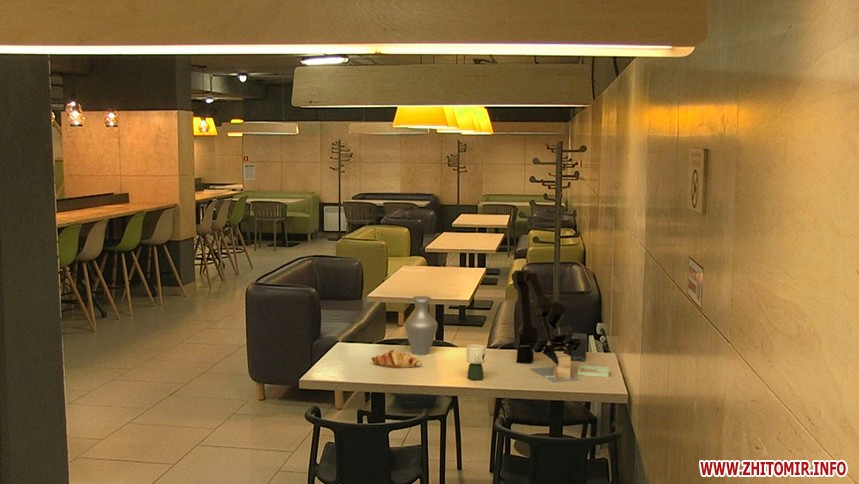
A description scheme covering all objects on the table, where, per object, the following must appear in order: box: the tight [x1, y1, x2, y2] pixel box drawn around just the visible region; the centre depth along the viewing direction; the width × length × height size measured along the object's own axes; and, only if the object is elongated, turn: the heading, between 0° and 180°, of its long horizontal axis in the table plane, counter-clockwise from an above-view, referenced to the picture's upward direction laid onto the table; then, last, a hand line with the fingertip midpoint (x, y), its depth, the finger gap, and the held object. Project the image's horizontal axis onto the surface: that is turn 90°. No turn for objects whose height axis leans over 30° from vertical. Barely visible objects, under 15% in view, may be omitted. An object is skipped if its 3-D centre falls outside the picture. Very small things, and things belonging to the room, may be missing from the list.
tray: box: [577, 364, 610, 378], centre depth 338 cm, size 12×12×2 cm
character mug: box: [466, 344, 486, 381], centre depth 329 cm, size 11×7×13 cm, turn 1°
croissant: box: [371, 349, 423, 369], centre depth 347 cm, size 21×10×8 cm, turn 84°
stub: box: [553, 353, 572, 380], centre depth 327 cm, size 4×5×9 cm
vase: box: [404, 295, 438, 356], centre depth 370 cm, size 14×14×25 cm
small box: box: [571, 332, 588, 362], centre depth 368 cm, size 11×6×10 cm, turn 168°
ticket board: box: [529, 366, 582, 383], centre depth 333 cm, size 22×12×2 cm, turn 19°
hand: (563, 363), depth 326 cm, fingers closed on stub, 5 cm apart
